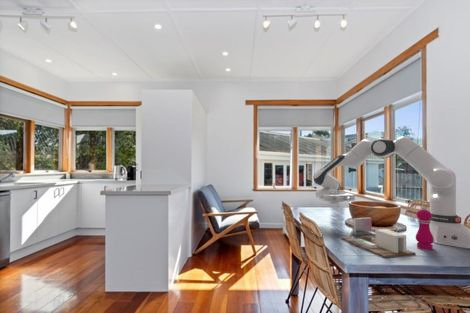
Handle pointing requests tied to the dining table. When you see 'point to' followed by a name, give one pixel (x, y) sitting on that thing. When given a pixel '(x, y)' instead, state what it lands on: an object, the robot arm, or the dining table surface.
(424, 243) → the pepper mill
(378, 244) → the block
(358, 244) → the board
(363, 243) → the gauge scale
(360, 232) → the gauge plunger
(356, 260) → the dining table surface
